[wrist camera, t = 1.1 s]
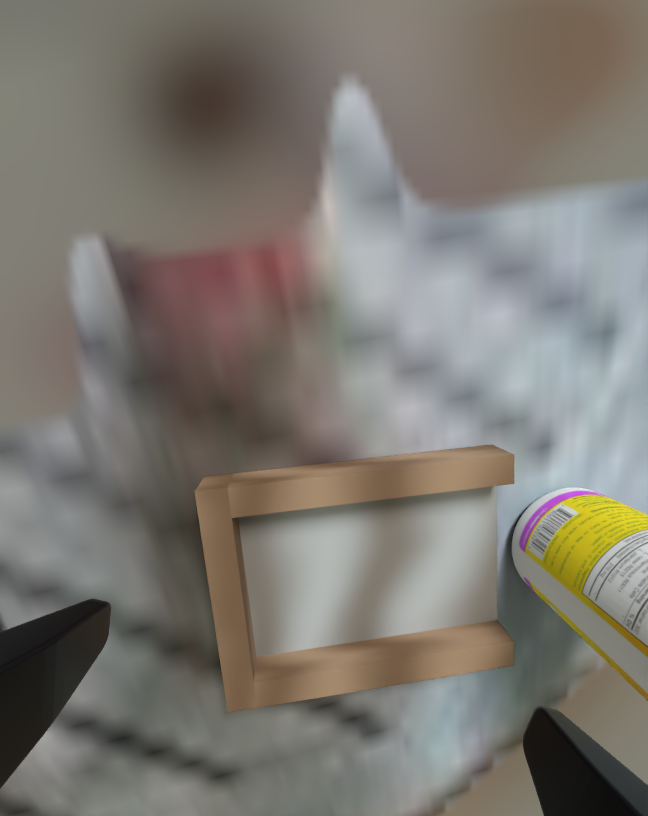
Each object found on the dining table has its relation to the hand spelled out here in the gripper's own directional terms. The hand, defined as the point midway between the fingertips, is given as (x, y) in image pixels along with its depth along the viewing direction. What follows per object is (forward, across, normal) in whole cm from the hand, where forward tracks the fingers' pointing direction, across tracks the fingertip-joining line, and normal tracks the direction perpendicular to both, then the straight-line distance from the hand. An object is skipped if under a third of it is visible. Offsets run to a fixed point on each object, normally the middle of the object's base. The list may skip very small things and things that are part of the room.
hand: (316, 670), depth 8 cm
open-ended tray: (+12, +3, -5) cm, 14 cm away
